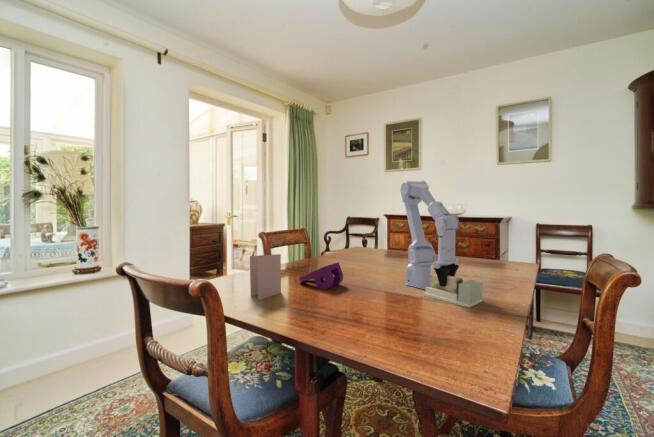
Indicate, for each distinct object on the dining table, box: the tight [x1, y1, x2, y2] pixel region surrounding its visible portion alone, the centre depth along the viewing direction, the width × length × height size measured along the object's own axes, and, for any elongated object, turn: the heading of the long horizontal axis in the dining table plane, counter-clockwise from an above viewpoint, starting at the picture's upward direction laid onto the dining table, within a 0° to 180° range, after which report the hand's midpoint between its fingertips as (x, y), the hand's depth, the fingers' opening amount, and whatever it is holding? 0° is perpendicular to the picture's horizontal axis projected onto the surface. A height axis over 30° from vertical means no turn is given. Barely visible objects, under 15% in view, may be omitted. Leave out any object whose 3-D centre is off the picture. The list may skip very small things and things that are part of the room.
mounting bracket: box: [298, 262, 344, 290], centre depth 134 cm, size 9×8×18 cm
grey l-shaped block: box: [423, 279, 483, 308], centre depth 114 cm, size 17×10×7 cm, turn 41°
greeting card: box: [249, 253, 282, 301], centre depth 117 cm, size 11×7×15 cm, turn 108°
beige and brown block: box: [430, 272, 464, 294], centre depth 116 cm, size 10×4×6 cm, turn 41°
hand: (446, 285), depth 116 cm, fingers closed on beige and brown block, 4 cm apart
